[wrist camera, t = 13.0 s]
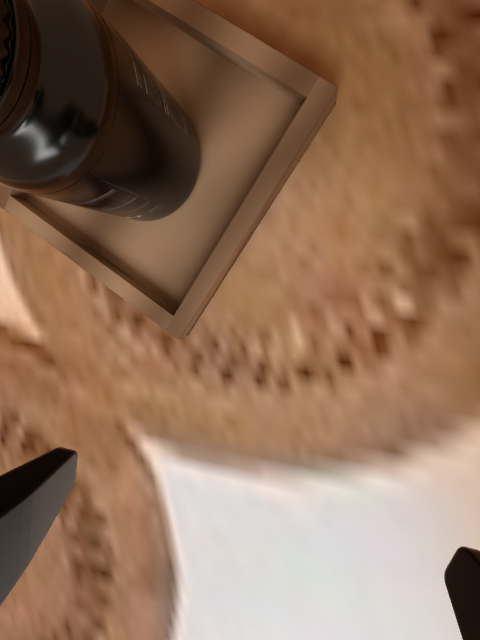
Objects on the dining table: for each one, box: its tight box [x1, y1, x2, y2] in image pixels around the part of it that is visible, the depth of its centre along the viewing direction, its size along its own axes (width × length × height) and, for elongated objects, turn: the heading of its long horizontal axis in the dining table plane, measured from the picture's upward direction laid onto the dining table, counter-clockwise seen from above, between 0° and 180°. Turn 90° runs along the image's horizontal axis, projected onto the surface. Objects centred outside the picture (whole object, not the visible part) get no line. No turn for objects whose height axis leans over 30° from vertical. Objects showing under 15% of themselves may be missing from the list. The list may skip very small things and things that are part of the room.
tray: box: [0, 0, 338, 340], centre depth 18 cm, size 15×15×2 cm
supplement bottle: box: [0, 0, 201, 221], centre depth 12 cm, size 7×7×12 cm
